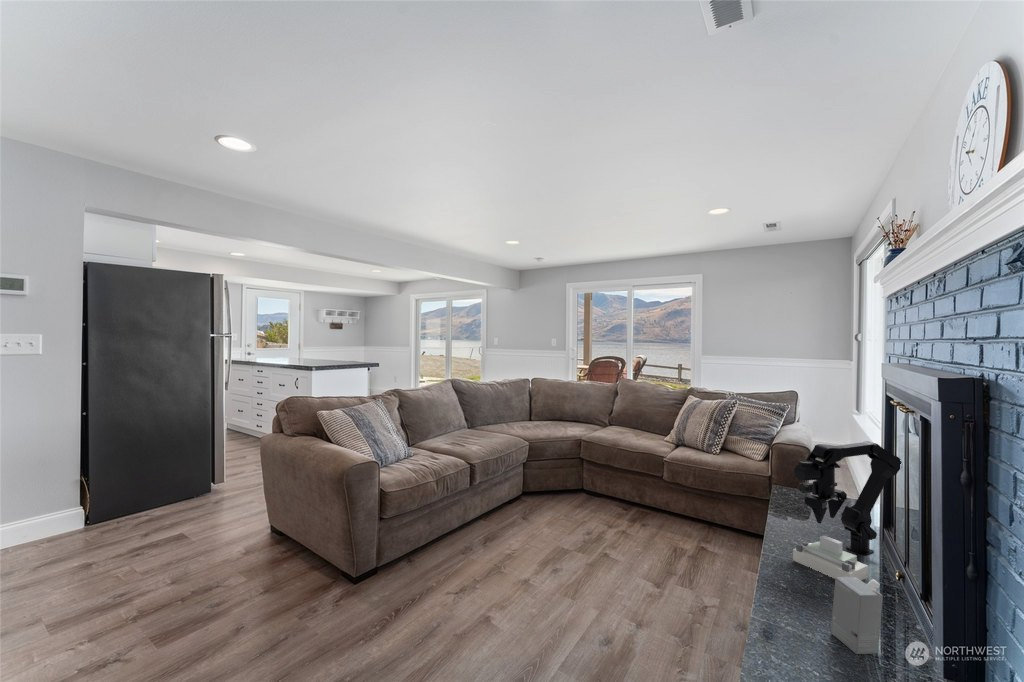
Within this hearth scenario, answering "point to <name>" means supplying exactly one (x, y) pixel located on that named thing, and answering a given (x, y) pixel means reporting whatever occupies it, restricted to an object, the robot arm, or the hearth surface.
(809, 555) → the white box base
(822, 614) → the hearth surface
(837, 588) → the skincare box
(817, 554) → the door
